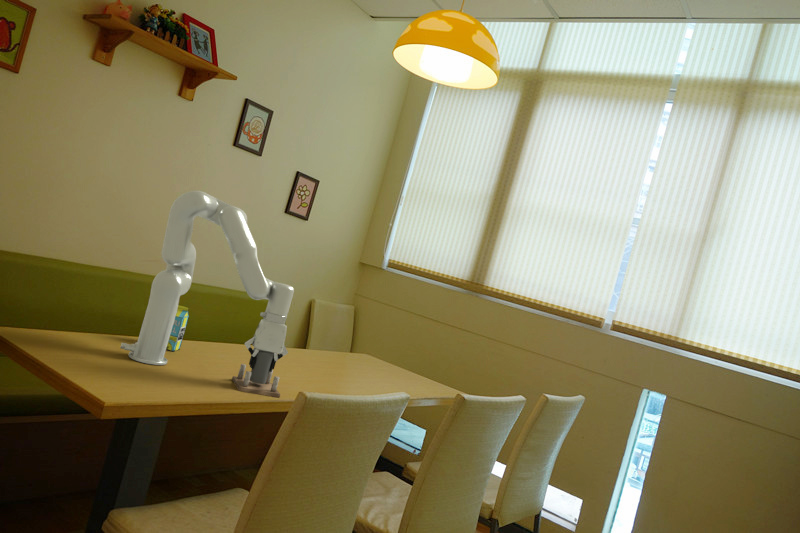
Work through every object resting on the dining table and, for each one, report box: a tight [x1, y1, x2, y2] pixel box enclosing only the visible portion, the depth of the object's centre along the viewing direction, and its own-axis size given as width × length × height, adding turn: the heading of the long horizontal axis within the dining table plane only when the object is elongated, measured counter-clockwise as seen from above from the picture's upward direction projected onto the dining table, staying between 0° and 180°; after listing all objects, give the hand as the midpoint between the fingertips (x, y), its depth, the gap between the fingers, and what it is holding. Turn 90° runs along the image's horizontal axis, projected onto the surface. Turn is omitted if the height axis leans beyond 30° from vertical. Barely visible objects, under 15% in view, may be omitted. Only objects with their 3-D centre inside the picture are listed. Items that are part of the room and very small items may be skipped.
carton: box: [166, 304, 190, 353], centre depth 235 cm, size 7×8×18 cm
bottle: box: [250, 350, 274, 384], centre depth 212 cm, size 6×6×15 cm
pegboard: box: [231, 363, 281, 398], centre depth 212 cm, size 14×14×6 cm
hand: (260, 368), depth 212 cm, fingers closed on bottle, 5 cm apart
